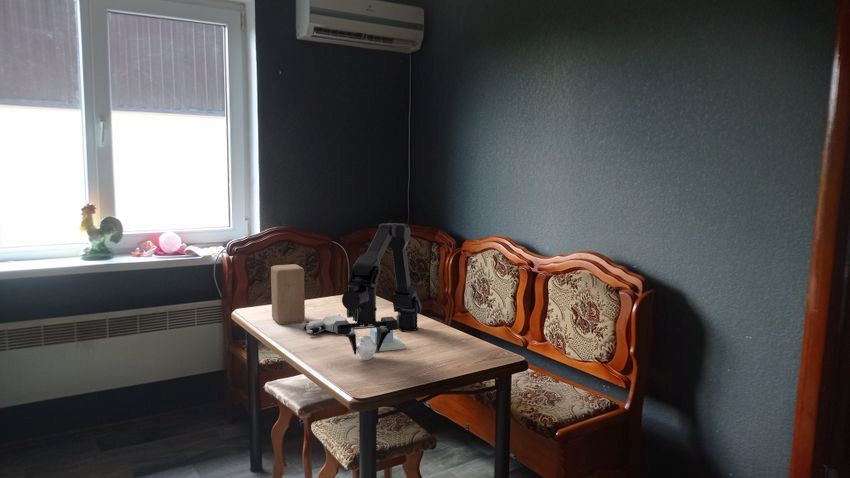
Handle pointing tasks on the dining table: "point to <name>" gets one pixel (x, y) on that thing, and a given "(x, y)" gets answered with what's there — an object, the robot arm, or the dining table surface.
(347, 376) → the dining table surface
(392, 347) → the pale green square slab
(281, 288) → the wooden block
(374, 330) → the brick
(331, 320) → the robot toy
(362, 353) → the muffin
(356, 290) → the robot arm
